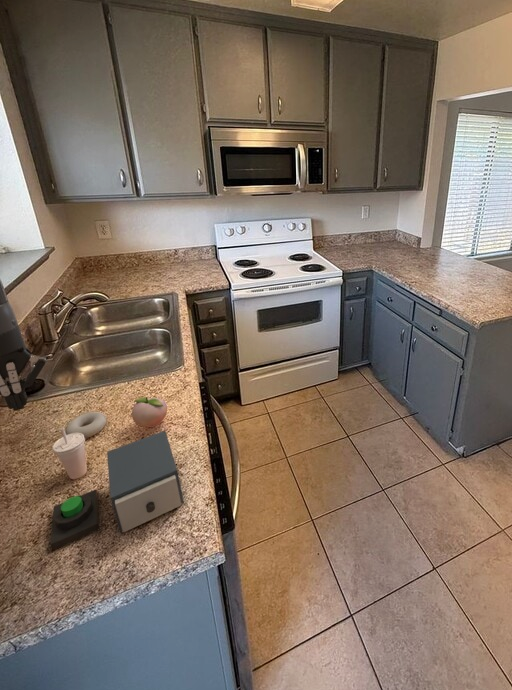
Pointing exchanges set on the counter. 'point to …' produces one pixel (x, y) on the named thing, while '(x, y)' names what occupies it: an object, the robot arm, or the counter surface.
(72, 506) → the button
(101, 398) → the counter surface
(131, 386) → the counter surface
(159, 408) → the decorative fruit
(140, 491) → the drawer
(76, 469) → the smoothie
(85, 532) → the control block
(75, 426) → the donut
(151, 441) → the cabinet
